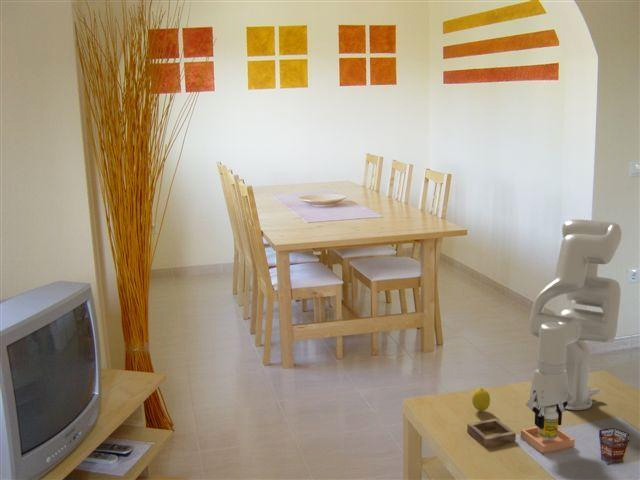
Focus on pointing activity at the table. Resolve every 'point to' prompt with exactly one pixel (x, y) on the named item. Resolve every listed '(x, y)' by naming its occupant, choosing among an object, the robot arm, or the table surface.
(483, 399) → the lemon
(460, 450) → the table surface
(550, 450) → the dish
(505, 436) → the tray
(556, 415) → the supplement bottle
